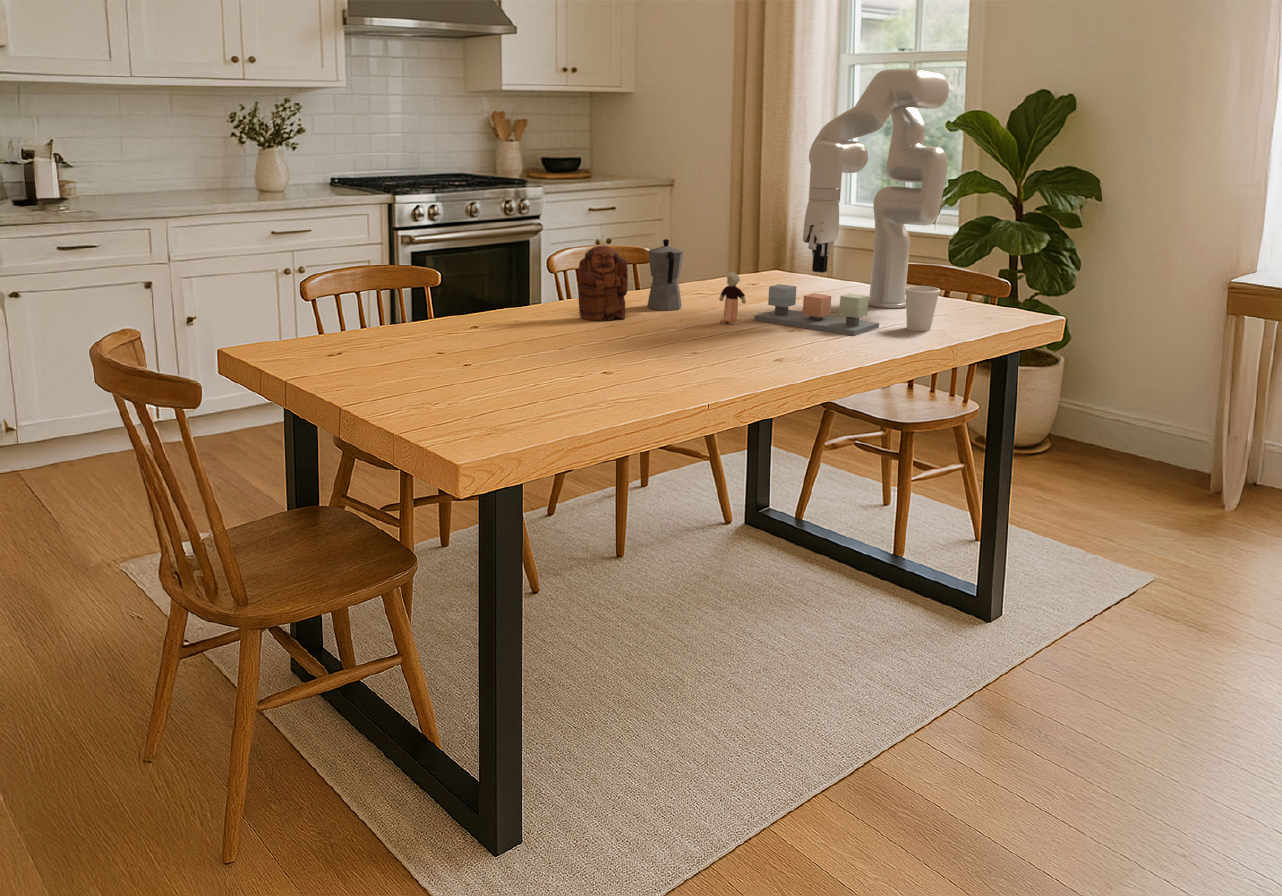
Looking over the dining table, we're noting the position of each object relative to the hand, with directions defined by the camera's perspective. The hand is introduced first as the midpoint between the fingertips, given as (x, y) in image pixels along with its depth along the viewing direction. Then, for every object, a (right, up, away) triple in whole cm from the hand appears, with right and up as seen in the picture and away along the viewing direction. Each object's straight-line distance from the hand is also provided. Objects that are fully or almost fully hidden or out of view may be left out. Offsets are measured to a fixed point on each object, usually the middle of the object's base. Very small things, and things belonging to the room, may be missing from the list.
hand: (819, 271), depth 267 cm
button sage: (+8, -11, -3) cm, 14 cm away
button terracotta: (0, -10, +3) cm, 11 cm away
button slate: (-8, -7, +9) cm, 14 cm away
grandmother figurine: (-22, -13, +3) cm, 25 cm away
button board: (0, -12, +4) cm, 13 cm away
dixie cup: (+24, -14, 0) cm, 28 cm away
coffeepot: (-37, -7, +20) cm, 43 cm away
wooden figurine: (-53, -11, +5) cm, 55 cm away
